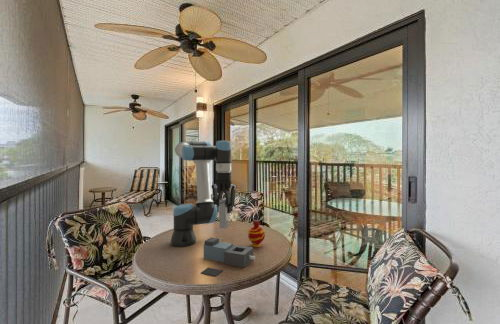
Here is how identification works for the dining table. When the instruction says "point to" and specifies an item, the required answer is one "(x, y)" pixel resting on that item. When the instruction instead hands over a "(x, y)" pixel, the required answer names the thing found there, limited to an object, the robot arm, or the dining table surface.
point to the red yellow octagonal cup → (256, 234)
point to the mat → (211, 271)
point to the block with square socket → (227, 252)
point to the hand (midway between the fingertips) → (224, 219)
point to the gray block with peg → (222, 214)
